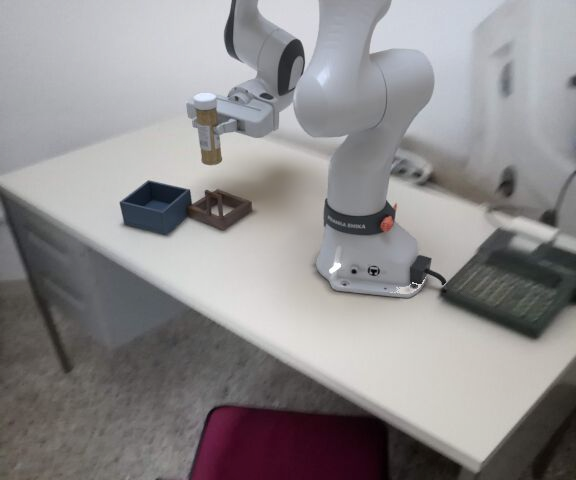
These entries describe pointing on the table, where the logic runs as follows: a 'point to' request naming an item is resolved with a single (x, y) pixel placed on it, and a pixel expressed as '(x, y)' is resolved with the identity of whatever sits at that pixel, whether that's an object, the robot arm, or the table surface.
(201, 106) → the sprinkles bottle
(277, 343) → the table surface
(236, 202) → the rack
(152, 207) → the open box
